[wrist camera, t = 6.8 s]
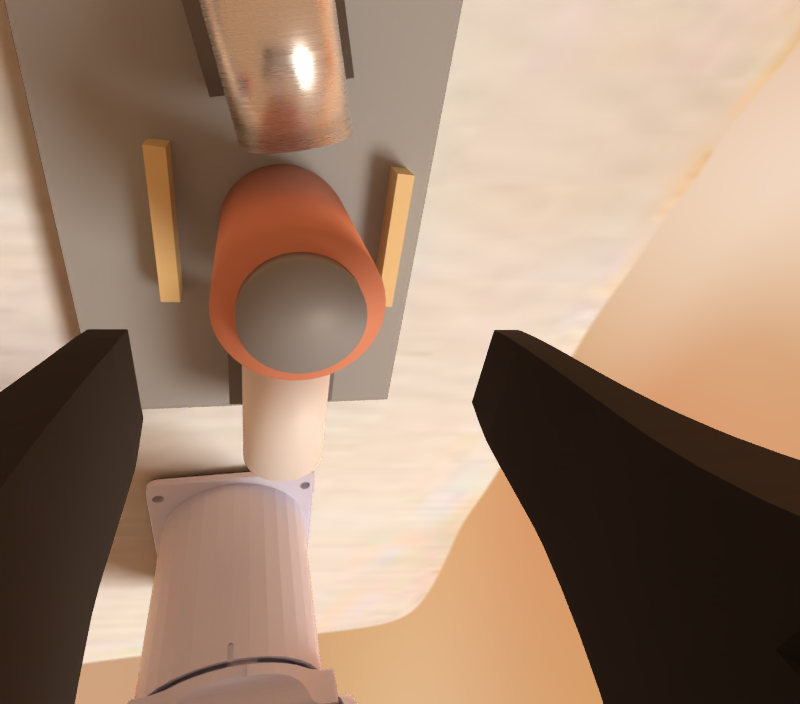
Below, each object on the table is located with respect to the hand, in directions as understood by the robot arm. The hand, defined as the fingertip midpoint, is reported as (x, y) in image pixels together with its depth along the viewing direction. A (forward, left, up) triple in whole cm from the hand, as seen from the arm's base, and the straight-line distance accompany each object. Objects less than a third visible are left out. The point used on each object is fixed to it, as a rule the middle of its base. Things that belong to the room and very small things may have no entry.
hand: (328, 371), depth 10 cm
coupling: (0, 0, -9) cm, 9 cm away
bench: (0, +1, -10) cm, 10 cm away
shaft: (+5, +1, -10) cm, 11 cm away
